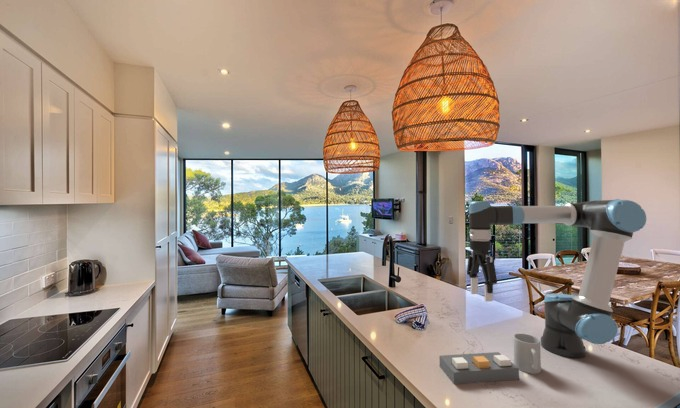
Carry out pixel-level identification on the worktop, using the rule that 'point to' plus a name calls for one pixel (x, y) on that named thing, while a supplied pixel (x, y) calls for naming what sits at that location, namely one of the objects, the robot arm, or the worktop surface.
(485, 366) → the button orange
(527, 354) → the mug
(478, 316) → the worktop surface
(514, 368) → the grey button panel
